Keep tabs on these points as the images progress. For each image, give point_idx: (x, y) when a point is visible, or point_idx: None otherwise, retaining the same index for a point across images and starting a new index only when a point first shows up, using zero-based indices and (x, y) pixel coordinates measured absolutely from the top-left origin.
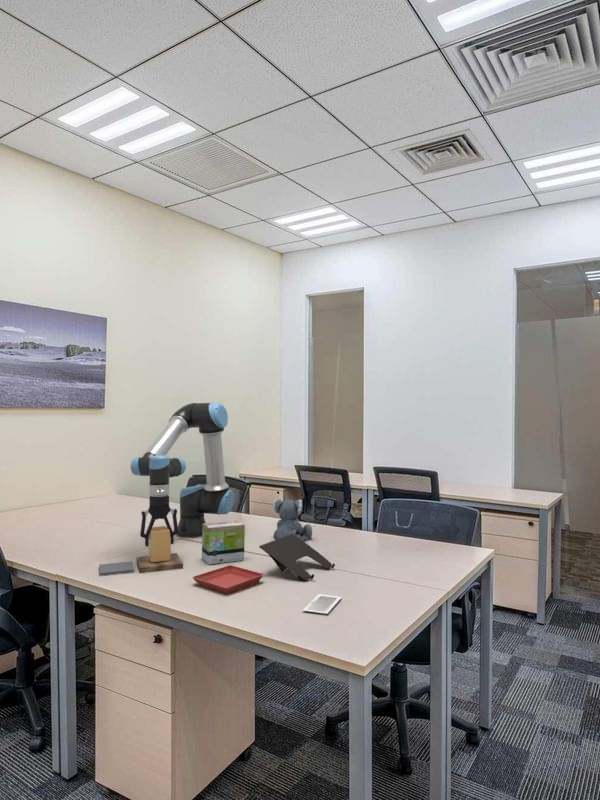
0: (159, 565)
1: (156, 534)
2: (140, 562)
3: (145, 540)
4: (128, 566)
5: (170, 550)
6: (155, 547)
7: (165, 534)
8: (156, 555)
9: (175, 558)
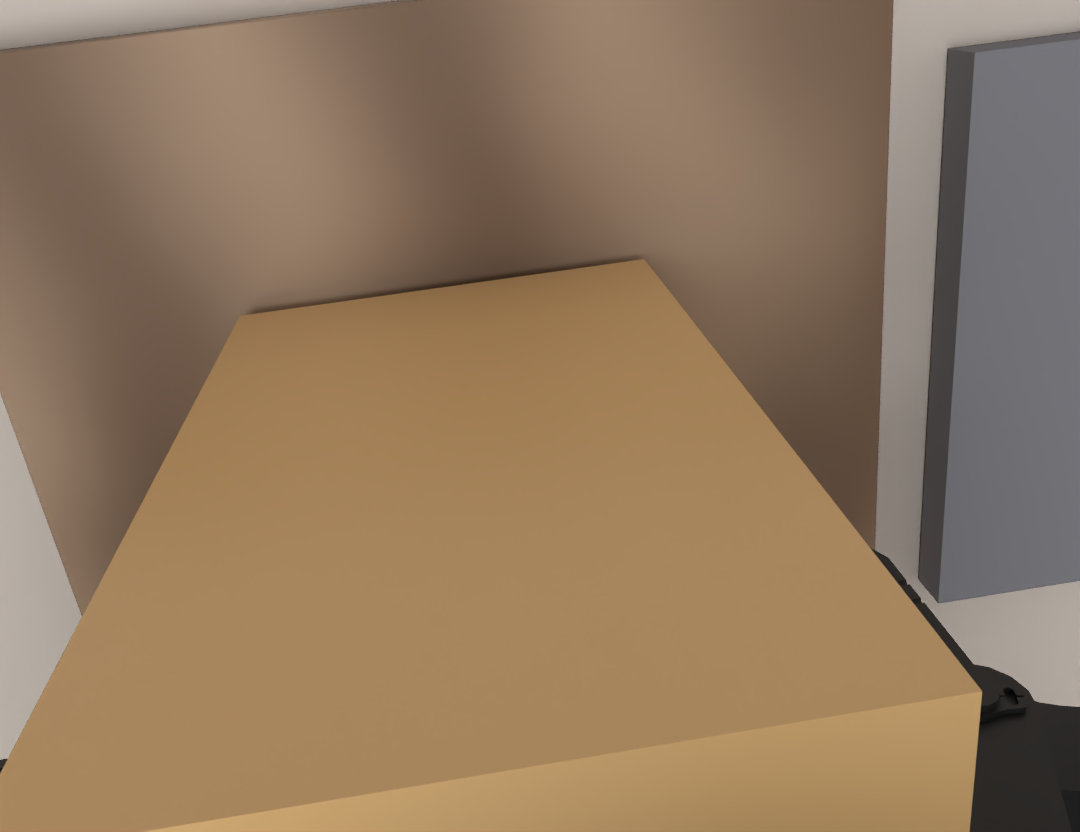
0: (455, 21)
1: (661, 641)
2: (839, 362)
3: (955, 649)
4: (1035, 303)
5: None
6: (603, 392)
7: (230, 685)
8: (544, 318)
9: (140, 496)
